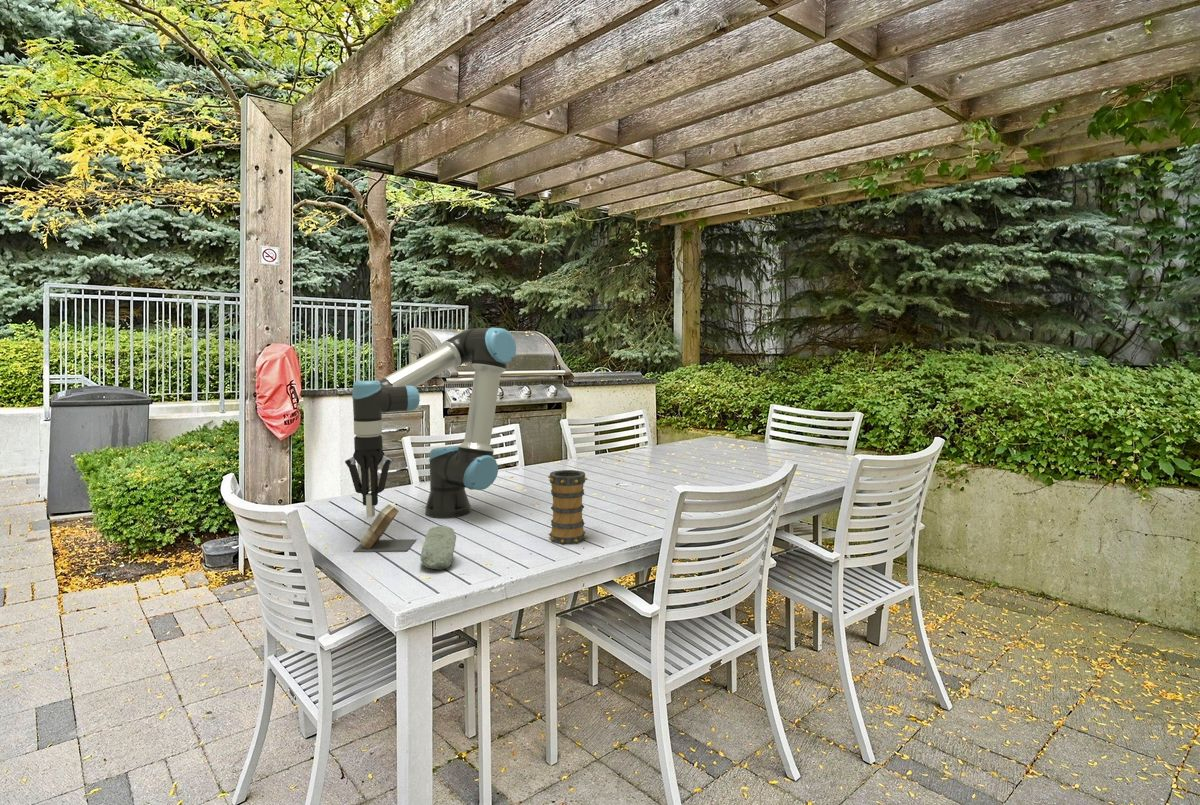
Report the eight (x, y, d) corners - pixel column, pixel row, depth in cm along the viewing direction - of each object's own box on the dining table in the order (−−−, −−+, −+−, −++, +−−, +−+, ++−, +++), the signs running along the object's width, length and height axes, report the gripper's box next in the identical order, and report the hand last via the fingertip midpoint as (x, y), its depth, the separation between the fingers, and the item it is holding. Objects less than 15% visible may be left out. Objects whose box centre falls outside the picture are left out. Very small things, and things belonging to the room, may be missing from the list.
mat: (416, 540, 186) (416, 539, 186) (407, 551, 176) (407, 550, 176) (365, 541, 185) (365, 539, 185) (353, 552, 175) (353, 550, 175)
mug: (540, 543, 183) (539, 476, 181) (557, 527, 200) (557, 465, 198) (582, 547, 180) (582, 479, 178) (596, 530, 197) (597, 467, 195)
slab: (378, 540, 184) (399, 510, 184) (369, 549, 176) (391, 518, 176) (368, 534, 184) (389, 504, 183) (358, 542, 176) (380, 511, 175)
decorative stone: (432, 553, 174) (414, 530, 169) (467, 540, 173) (450, 517, 168) (428, 590, 164) (408, 568, 158) (465, 577, 163) (447, 554, 157)
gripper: (395, 433, 181) (397, 512, 183) (349, 433, 181) (352, 513, 183) (387, 437, 174) (389, 519, 176) (339, 437, 173) (342, 520, 176)
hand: (370, 516), depth 180 cm, fingers closed
